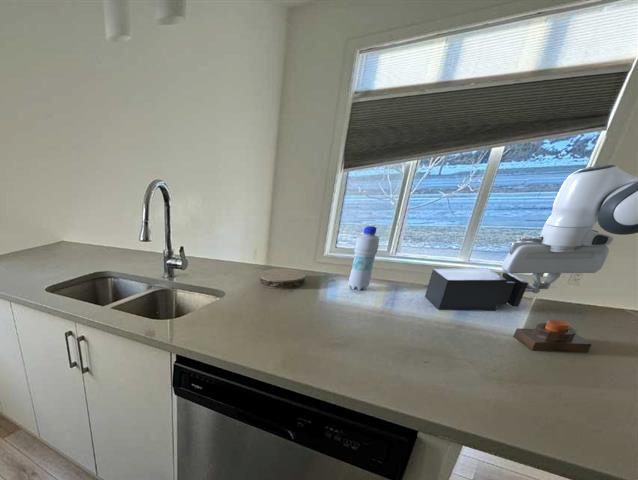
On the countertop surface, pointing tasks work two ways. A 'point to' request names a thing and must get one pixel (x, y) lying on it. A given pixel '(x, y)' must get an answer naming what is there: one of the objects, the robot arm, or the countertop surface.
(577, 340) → the control pad
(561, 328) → the button
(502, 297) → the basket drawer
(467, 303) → the dark navy box
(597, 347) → the countertop surface
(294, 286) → the round wood slice
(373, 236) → the bottle
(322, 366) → the countertop surface
